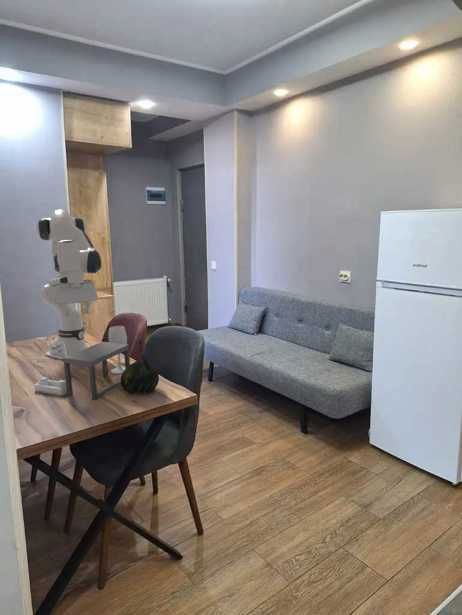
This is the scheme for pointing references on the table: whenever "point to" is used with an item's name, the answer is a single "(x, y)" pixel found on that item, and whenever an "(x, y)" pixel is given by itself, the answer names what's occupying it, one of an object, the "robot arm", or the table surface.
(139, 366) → the squash
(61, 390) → the tray
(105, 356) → the side table
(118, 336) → the wineglass
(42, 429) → the table surface
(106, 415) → the table surface
